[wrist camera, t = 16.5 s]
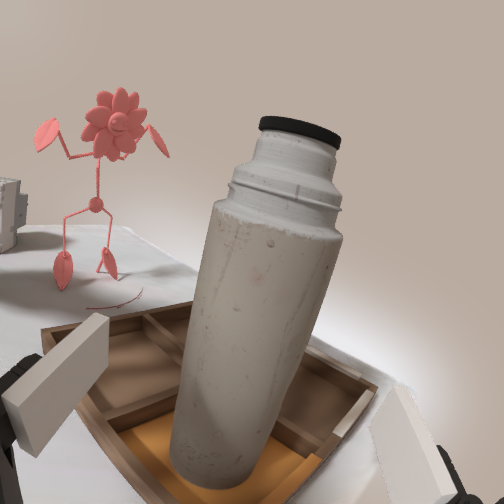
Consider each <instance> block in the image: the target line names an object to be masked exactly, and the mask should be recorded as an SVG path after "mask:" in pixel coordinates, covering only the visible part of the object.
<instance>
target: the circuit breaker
mask: <svg viewBox="0 0 504 504" xmlns="http://www.w3.org/2000/svg"><path fill="white" fill-rule="evenodd" d="M20 184H21V180H15V179H9V178H2V177H0V253H3V252H5V251H6V250H8V249H10V248H11V247H13V246H15V245H16V244H17V236H15V235H16V234H17V229H18V228H20V227H22V226H24V225H26V212H27V206H28V203H27V200H28V194H24V193H20Z"/></svg>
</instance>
